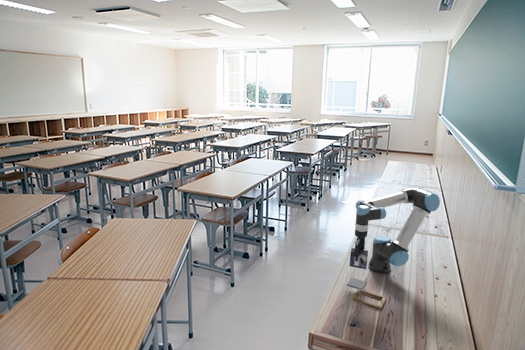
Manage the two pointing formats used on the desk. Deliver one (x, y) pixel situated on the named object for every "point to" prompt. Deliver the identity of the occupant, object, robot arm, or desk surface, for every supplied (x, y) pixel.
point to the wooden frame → (378, 307)
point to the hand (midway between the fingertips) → (358, 262)
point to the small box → (362, 259)
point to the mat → (356, 283)
